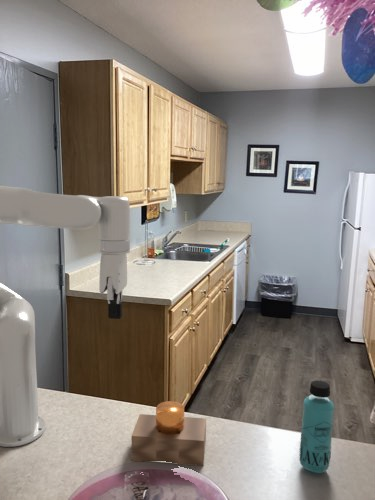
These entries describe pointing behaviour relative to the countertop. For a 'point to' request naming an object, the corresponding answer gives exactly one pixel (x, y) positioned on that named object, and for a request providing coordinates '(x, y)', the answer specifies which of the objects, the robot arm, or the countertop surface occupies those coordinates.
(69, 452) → the countertop surface
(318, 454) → the beverage bottle
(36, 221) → the robot arm
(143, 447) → the block
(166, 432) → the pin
